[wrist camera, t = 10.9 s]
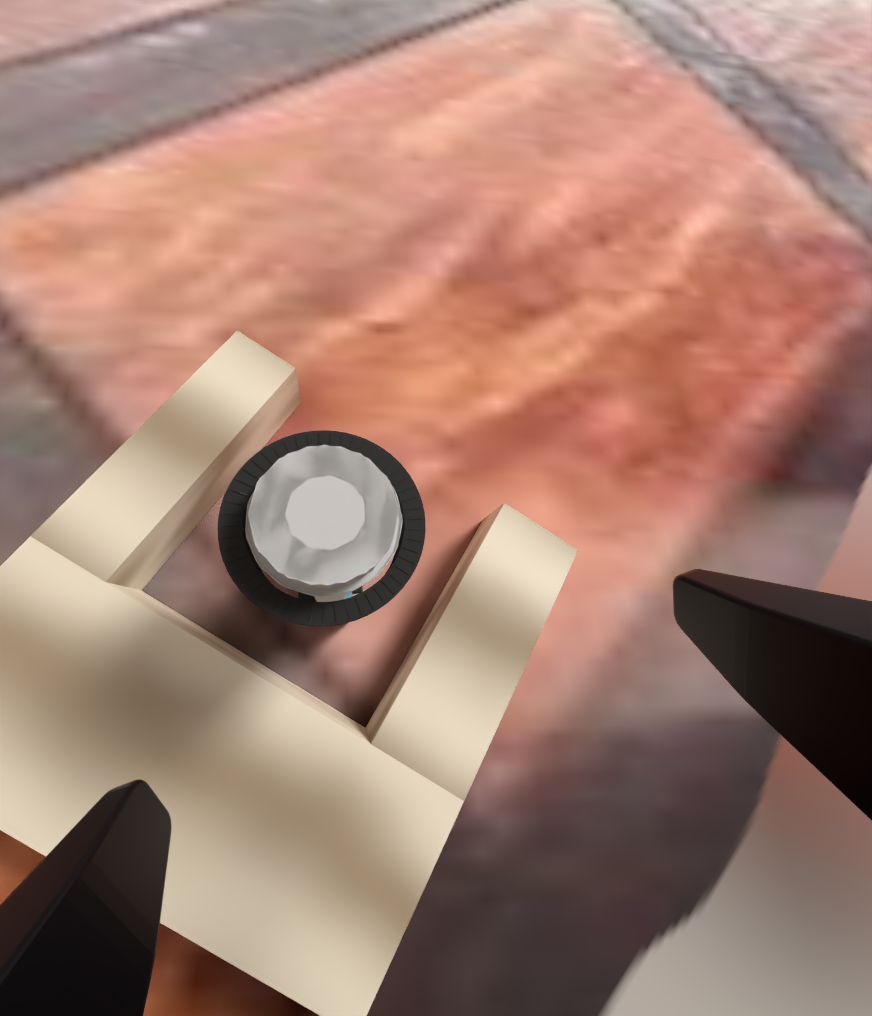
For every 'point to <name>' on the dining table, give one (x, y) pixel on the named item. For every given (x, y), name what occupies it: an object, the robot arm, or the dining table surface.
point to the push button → (321, 527)
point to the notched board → (250, 706)
